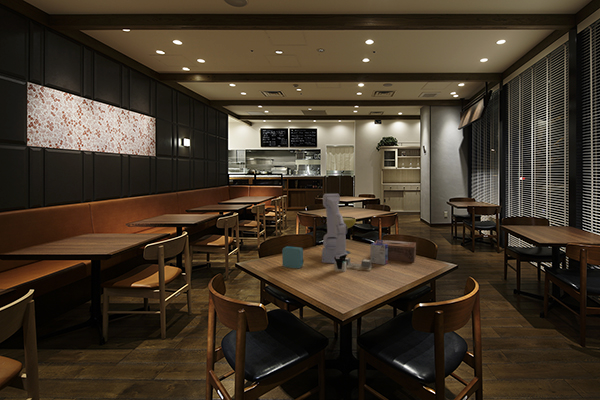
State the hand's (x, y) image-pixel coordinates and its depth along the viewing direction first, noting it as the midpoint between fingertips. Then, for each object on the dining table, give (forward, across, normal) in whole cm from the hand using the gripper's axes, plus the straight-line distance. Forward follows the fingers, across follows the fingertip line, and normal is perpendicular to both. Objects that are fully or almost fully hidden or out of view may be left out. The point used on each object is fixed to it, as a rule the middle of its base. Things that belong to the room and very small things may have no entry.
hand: (340, 267), depth 180 cm
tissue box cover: (+2, +40, -27) cm, 48 cm away
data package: (+2, -4, +29) cm, 29 cm away
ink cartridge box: (+2, +23, -19) cm, 30 cm away
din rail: (+1, +9, -7) cm, 11 cm away
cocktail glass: (+2, +40, +9) cm, 41 cm away
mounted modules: (0, +9, -7) cm, 11 cm away
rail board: (+1, +9, -7) cm, 11 cm away
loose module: (+1, 0, 0) cm, 1 cm away
